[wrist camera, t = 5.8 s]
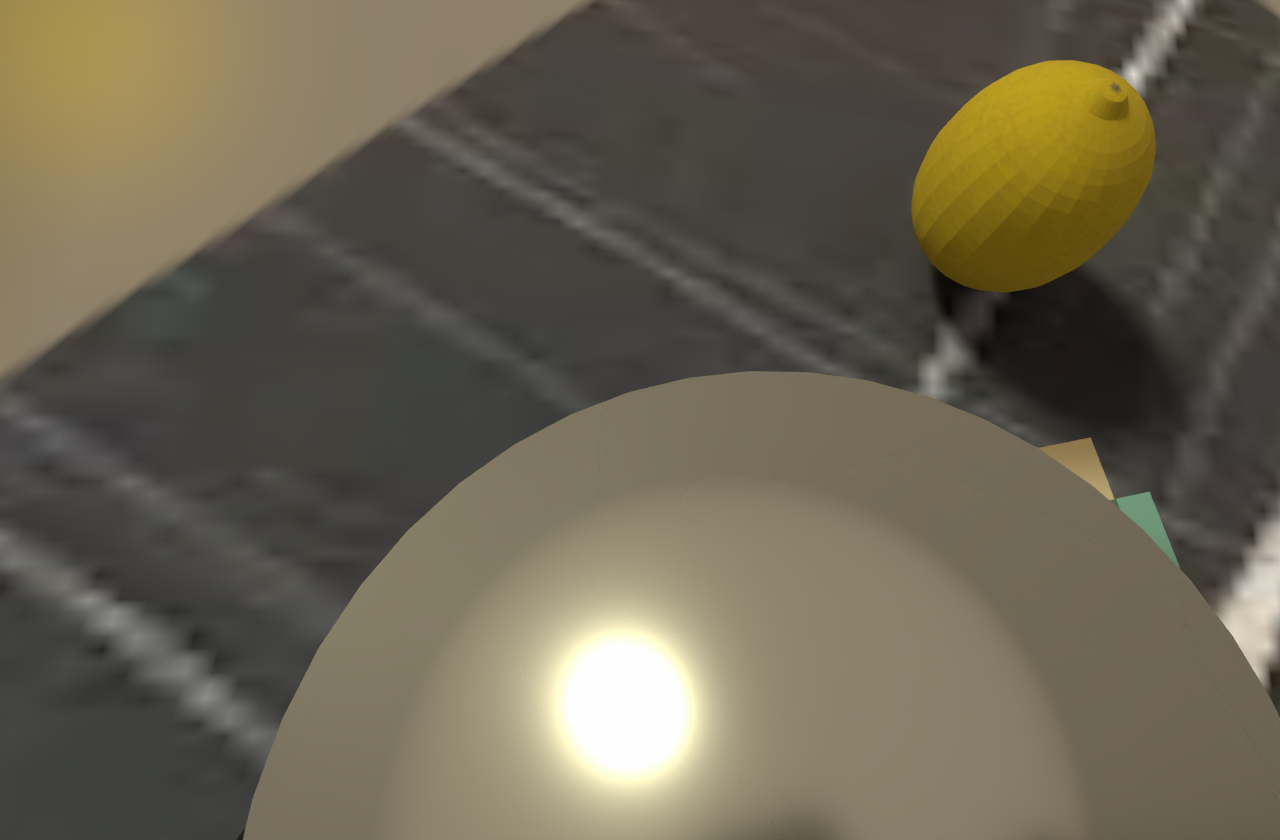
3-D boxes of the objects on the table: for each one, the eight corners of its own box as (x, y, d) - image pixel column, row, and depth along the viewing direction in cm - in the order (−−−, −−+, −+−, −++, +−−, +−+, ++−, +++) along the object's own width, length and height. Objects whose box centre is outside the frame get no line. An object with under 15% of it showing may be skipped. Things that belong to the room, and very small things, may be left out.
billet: (765, 805, 14) (1584, 1439, 3) (527, 866, 13) (267, 2028, 2) (709, 567, 15) (1109, 305, 4) (488, 614, 15) (188, 467, 3)
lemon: (1058, 316, 25) (1267, 171, 18) (903, 345, 25) (1051, 206, 17) (1001, 173, 27) (1171, -18, 19) (852, 196, 26) (969, 6, 18)
